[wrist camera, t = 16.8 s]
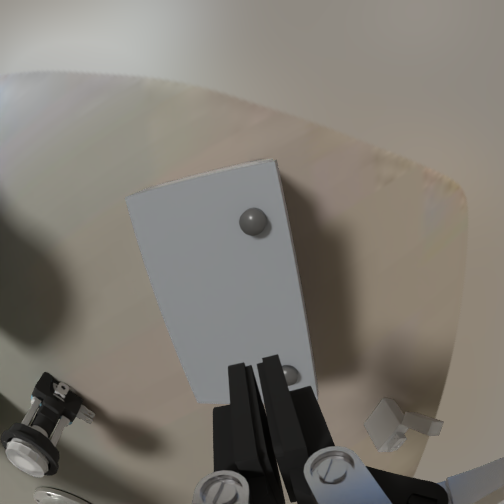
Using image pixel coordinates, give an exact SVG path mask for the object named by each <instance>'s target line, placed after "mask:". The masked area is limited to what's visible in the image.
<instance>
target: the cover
mask: <svg viewBox="0 0 504 504" xmlns="http://www.w3.org/2000/svg"><path fill="white" fill-rule="evenodd" d="M125 200H126V203H127V207H128V211H129V214H130V218H131V221H132V225H133V228H134V232H135V235H136V238H137V242H138V245H139V248H140V251H141V254H142V258H143V261H144V264H145V267H146V270H147V273H148V276H149V279H150V282H151V285H152V288H153V291H154V294H155V297H156V299H157V302H158V305H159V308H160V311H161V313H162V316H163V319H164V321H165V324H166V327H167V329H168V332H169V335H170V337H171V340H172V342H173V345H174V347H175V350H176V352H177V355H178V357H179V360H180V362H181V365H182V367H183V370H184V372H185V374H186V377H187V379H188V381H189V384H190V386H191V388H192V391H193V393H194V395H195V398H196V400H197V402H198V403H211V404H230V394H229V379H228V366H229V365H234V364H238V363H243V362H244V363H245V366H249V365H252V368H253V371H254V375H255V378H256V382H257V385H258V388H259V392H260V395H261V399H262V402H263V403H264V399H263V394H262V389H261V384H260V379H259V374H258V369H257V364H258V363H262V362H263V360H262V358H264V357H268V356H273V355H277V354H278V355H279V359H280V362H281V365H282V369H283V372H284V375H285V378H286V382H287V385H288V388H289V391H292V390H296V389H300V388H303V387H307V386H311V387H312V389H313V392H314V394H315V397H316V399H317V400H318V385H317V378H316V371H315V365H314V358H313V352H312V345H311V339H310V333H309V327H308V321H307V315H306V309H305V303H304V297H303V291H302V286H301V280H300V275H299V269H298V264H297V258H296V253H295V247H294V242H293V237H292V232H291V227H290V222H289V217H288V212H287V207H286V202H285V197H284V192H283V187H282V182H281V177H280V173H279V168H278V163H277V160H274V161H269V162H264V163H259V164H254V165H249V166H244V167H240V168H235V169H231V170H226V171H222V172H218V173H213V174H209V175H205V176H201V177H197V178H192V179H188V180H184V181H180V182H177V183H173V184H169V185H165V186H161V187H158V188H154V189H150V190H147V191H143V192H140V193H136V194H133V195H130V196H127V197H125Z"/></svg>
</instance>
